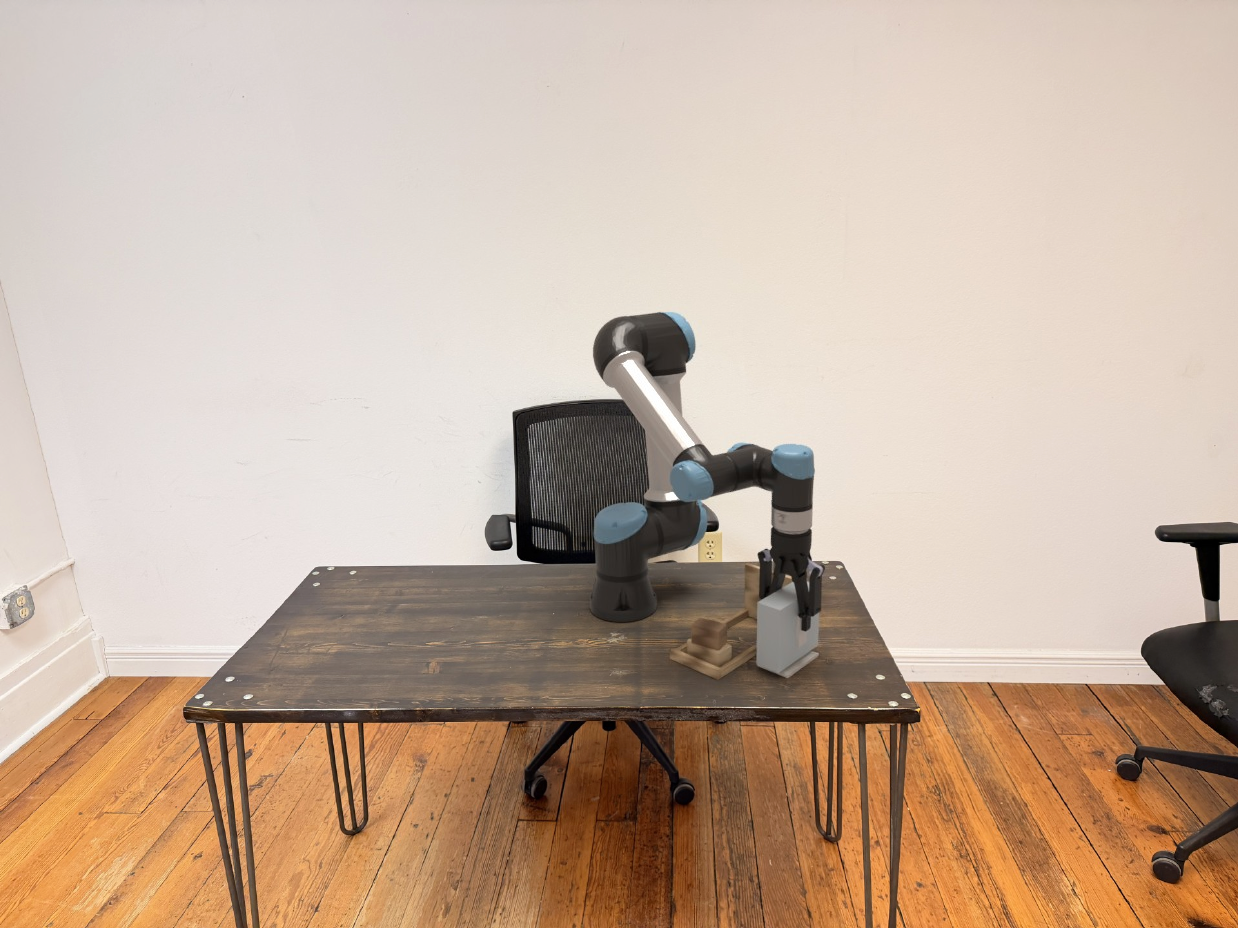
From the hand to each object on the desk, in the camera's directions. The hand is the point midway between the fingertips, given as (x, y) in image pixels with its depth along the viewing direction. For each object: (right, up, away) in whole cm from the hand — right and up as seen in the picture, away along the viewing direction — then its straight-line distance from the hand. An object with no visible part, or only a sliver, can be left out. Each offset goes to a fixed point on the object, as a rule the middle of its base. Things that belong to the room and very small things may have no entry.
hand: (788, 639), depth 159 cm
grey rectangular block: (0, -3, +1) cm, 3 cm away
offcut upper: (-15, -1, +2) cm, 15 cm away
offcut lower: (-15, -5, +3) cm, 16 cm away
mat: (0, -5, +1) cm, 5 cm away
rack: (-9, -3, +8) cm, 13 cm away
